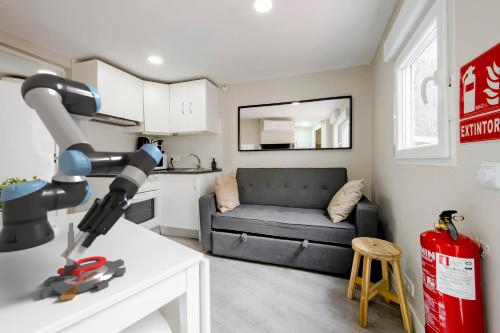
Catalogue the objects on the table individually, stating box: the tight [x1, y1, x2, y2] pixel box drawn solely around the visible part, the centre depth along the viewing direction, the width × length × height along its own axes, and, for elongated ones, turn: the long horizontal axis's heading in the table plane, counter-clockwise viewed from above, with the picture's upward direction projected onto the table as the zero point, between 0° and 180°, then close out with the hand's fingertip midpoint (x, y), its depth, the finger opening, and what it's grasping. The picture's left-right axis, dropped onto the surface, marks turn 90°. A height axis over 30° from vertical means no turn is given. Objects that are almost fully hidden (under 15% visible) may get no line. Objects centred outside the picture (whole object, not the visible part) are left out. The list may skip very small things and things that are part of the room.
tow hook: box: [56, 222, 107, 277], centre depth 55 cm, size 8×13×9 cm
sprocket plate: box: [39, 258, 127, 302], centre depth 55 cm, size 18×18×1 cm
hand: (68, 258), depth 51 cm, fingers closed on tow hook, 2 cm apart
